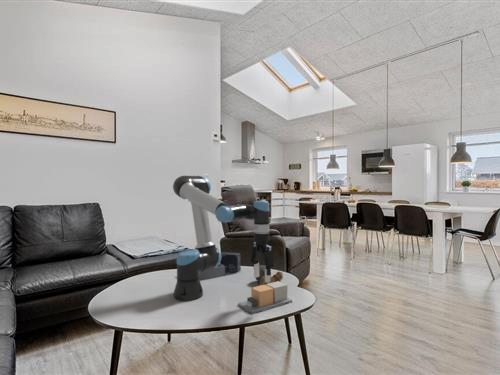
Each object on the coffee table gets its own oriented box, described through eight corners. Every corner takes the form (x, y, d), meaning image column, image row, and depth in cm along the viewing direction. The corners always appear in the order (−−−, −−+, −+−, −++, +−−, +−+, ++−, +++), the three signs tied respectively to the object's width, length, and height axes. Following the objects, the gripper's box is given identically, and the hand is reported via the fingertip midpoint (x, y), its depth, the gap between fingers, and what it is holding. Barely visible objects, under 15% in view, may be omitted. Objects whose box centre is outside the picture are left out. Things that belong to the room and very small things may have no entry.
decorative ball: (256, 285, 170) (256, 268, 170) (252, 280, 180) (252, 264, 180) (273, 284, 173) (273, 267, 173) (268, 279, 182) (268, 262, 182)
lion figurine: (281, 285, 170) (281, 269, 170) (284, 288, 165) (284, 272, 165) (256, 287, 168) (256, 271, 168) (258, 290, 162) (258, 274, 162)
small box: (241, 270, 202) (240, 252, 202) (237, 273, 196) (237, 255, 195) (223, 268, 206) (223, 251, 206) (219, 271, 199) (219, 254, 199)
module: (251, 302, 143) (251, 287, 143) (264, 298, 148) (264, 284, 148) (259, 306, 137) (259, 291, 137) (273, 303, 142) (273, 288, 142)
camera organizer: (183, 275, 191) (183, 266, 191) (213, 269, 204) (213, 261, 204) (193, 281, 178) (193, 271, 178) (225, 275, 190) (224, 266, 190)
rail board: (238, 305, 142) (238, 288, 142) (276, 294, 155) (276, 279, 155) (252, 313, 132) (252, 296, 132) (292, 302, 145) (292, 285, 145)
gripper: (243, 230, 149) (243, 275, 149) (268, 236, 132) (269, 286, 132) (255, 229, 153) (255, 272, 154) (281, 234, 136) (282, 283, 136)
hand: (262, 279), depth 143 cm, fingers open, 8 cm apart
